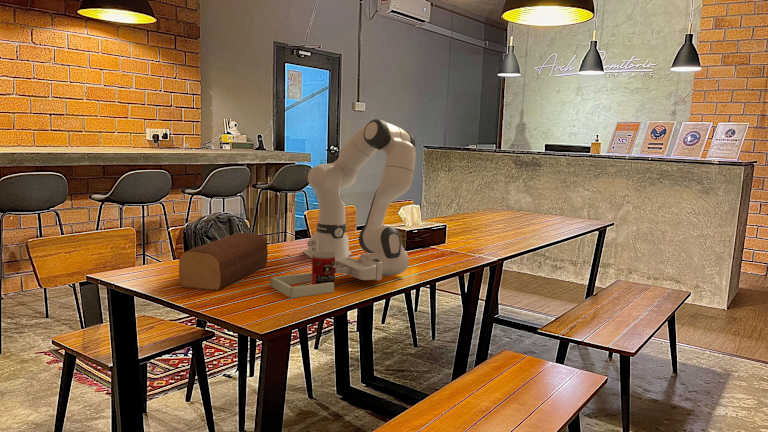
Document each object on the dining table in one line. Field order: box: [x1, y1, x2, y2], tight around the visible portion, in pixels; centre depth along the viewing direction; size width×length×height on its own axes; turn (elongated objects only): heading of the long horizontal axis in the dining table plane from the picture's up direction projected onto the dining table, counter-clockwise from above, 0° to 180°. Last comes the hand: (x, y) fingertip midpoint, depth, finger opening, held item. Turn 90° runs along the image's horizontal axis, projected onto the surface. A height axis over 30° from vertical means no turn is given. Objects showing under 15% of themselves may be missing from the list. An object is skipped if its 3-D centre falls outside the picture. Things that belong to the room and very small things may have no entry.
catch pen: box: [269, 272, 335, 299], centre depth 194 cm, size 16×15×3 cm
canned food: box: [311, 252, 336, 285], centre depth 198 cm, size 8×8×11 cm
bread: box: [178, 232, 269, 291], centre depth 208 cm, size 16×39×13 cm, turn 168°
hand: (333, 270), depth 200 cm, fingers closed, pressing on canned food
